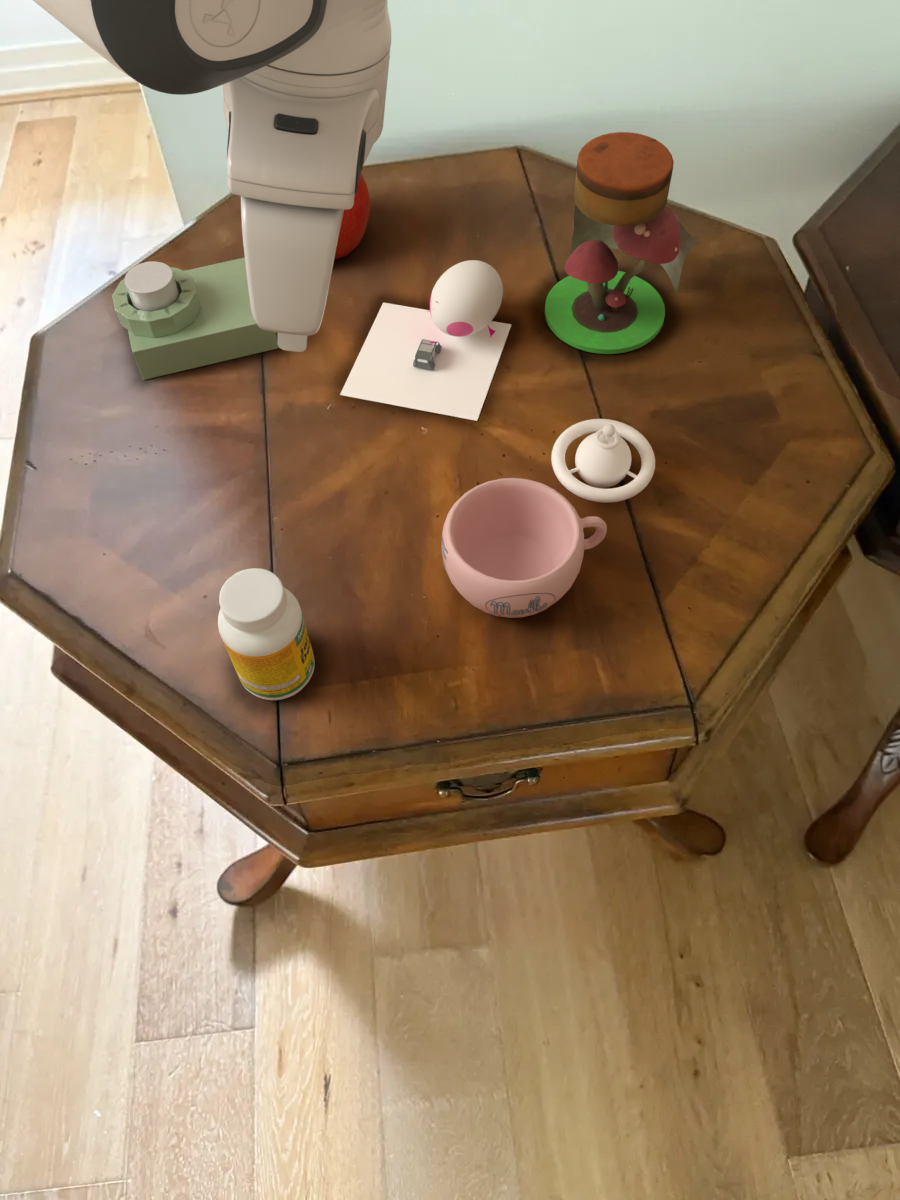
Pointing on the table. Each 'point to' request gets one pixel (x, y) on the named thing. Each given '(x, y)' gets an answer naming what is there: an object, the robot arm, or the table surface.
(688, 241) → the mushroom terrarium figurine
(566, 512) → the mug
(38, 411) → the table surface
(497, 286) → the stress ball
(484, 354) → the thin white square mat
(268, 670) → the supplement bottle
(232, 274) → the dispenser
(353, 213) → the apple
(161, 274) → the button
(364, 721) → the table surface
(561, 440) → the ring around a ball
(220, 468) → the table surface
